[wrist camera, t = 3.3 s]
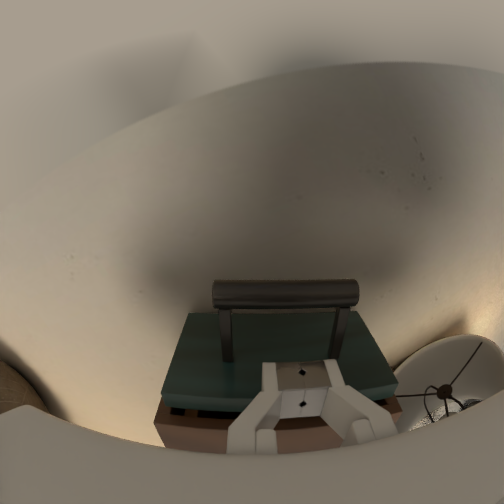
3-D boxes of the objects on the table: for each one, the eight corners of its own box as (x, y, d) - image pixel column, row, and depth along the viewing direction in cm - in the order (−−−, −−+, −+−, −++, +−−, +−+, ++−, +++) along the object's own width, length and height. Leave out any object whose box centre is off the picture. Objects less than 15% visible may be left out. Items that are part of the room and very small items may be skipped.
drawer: (181, 247, 17) (137, 311, 10) (368, 248, 17) (429, 305, 10) (207, 424, 24) (199, 486, 16) (325, 421, 24) (338, 481, 16)
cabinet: (185, 324, 20) (152, 422, 11) (356, 322, 20) (403, 411, 11) (206, 430, 26) (196, 501, 16) (324, 427, 26) (338, 496, 17)
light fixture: (390, 492, 28) (322, 409, 23) (463, 425, 30) (444, 296, 25) (436, 541, 11) (421, 524, 6) (517, 458, 14) (562, 325, 9)
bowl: (96, 436, 28) (68, 510, 14) (31, 421, 30) (4, 471, 16) (10, 326, 21) (-57, 399, 7) (-32, 335, 23) (-76, 381, 9)
